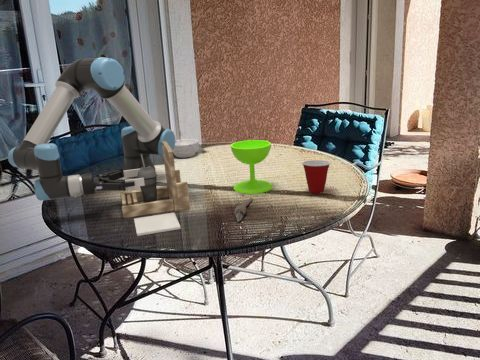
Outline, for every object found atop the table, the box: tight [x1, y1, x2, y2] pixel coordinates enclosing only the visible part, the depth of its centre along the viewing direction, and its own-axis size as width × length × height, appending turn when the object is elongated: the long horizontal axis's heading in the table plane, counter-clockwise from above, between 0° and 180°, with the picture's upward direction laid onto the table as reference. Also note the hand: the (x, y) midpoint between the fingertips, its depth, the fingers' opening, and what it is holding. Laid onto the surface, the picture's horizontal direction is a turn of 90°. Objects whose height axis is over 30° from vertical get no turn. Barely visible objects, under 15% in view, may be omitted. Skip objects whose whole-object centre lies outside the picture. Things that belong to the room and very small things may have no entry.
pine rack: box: [119, 141, 191, 219], centre depth 170 cm, size 24×20×22 cm
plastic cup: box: [301, 159, 332, 195], centre depth 175 cm, size 11×11×12 cm
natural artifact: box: [234, 197, 254, 223], centre depth 161 cm, size 4×23×4 cm
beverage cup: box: [136, 154, 158, 203], centre depth 170 cm, size 7×7×20 cm
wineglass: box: [230, 139, 274, 195], centre depth 184 cm, size 16×16×18 cm
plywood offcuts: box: [121, 191, 139, 206], centre depth 170 cm, size 5×12×4 cm, turn 16°
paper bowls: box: [173, 138, 200, 159], centre depth 246 cm, size 15×15×8 cm
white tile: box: [133, 212, 182, 237], centre depth 154 cm, size 14×14×1 cm
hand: (142, 176), depth 168 cm, fingers open, 13 cm apart
